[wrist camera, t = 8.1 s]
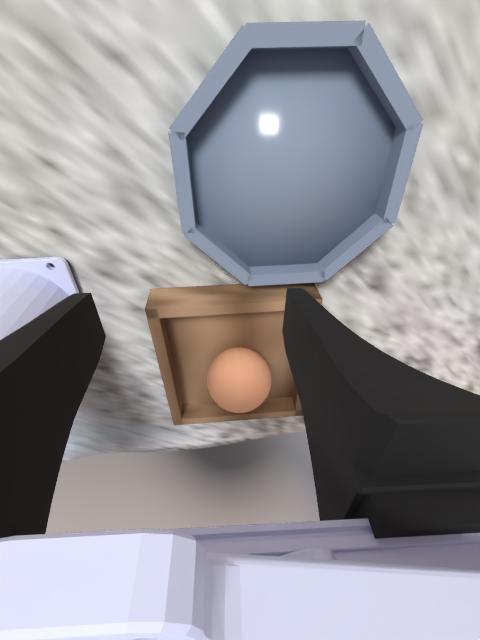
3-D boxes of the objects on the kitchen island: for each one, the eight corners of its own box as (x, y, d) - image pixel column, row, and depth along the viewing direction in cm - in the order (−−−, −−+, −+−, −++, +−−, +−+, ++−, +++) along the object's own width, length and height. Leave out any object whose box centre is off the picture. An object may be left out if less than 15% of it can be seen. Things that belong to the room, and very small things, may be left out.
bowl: (191, 273, 22) (190, 289, 21) (160, 31, 15) (153, 24, 13) (366, 263, 23) (379, 278, 21) (425, 26, 15) (453, 18, 14)
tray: (176, 402, 31) (173, 425, 29) (151, 289, 23) (144, 309, 21) (297, 393, 31) (303, 415, 29) (312, 279, 24) (322, 298, 21)
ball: (208, 379, 28) (209, 429, 24) (204, 336, 25) (204, 384, 21) (264, 375, 28) (274, 423, 24) (267, 332, 25) (279, 379, 21)
